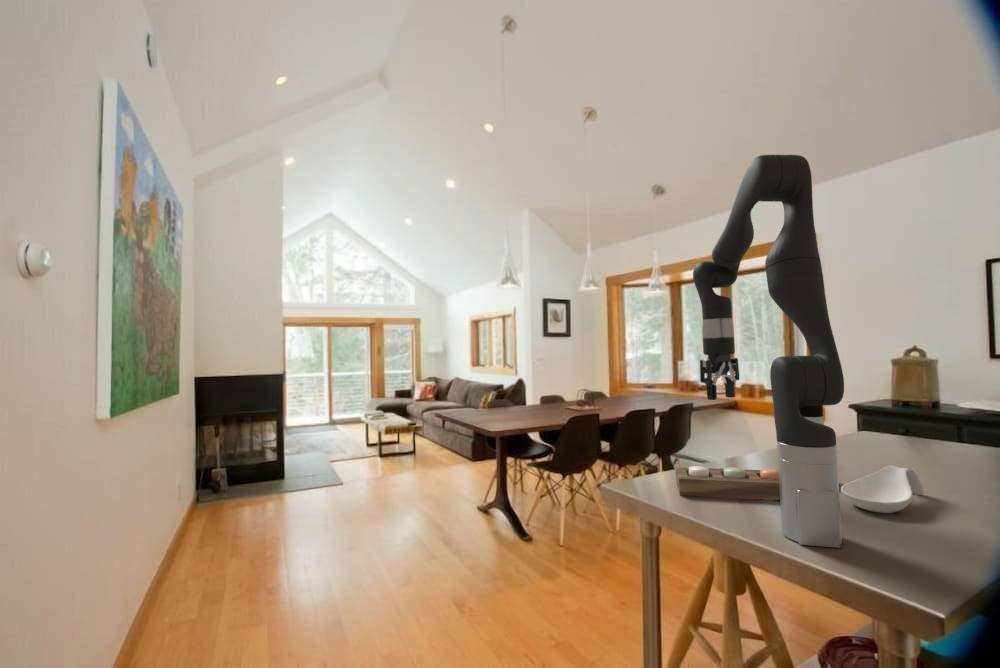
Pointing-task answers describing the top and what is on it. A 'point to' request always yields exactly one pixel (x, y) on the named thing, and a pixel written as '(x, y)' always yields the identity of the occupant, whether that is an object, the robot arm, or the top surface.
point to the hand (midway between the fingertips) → (721, 398)
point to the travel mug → (812, 413)
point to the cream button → (698, 471)
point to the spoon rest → (884, 490)
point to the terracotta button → (769, 474)
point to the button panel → (727, 485)
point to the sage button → (734, 473)
